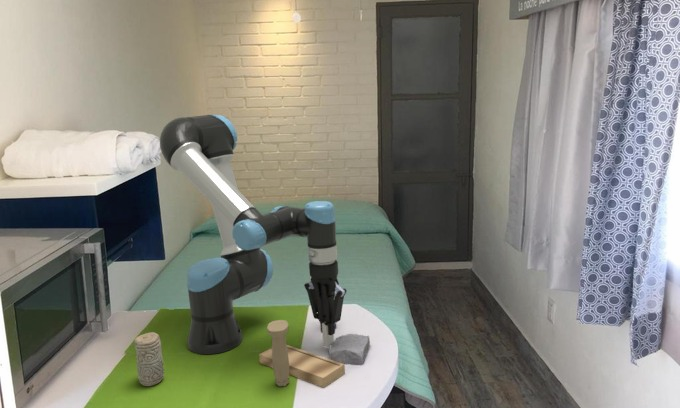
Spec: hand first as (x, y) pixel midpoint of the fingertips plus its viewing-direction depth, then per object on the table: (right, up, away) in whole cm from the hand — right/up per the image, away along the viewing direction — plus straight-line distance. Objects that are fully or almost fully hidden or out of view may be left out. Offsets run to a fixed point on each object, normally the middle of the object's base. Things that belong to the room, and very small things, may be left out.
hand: (328, 344), depth 151 cm
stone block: (+5, -2, -2) cm, 6 cm away
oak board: (-7, -4, -9) cm, 12 cm away
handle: (-11, -6, -16) cm, 20 cm away
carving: (-44, -7, -11) cm, 46 cm away
